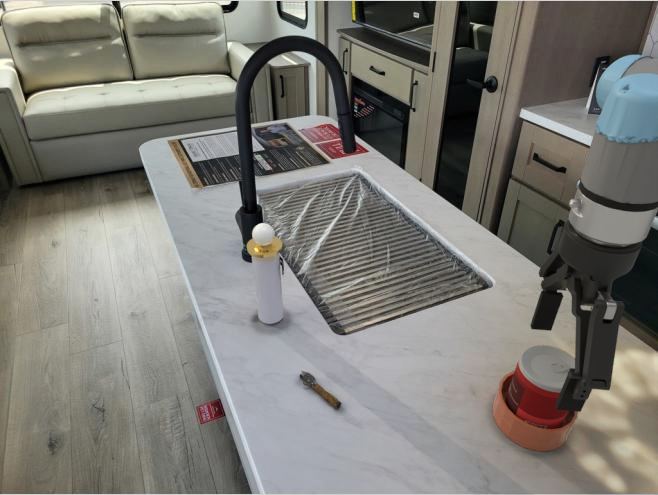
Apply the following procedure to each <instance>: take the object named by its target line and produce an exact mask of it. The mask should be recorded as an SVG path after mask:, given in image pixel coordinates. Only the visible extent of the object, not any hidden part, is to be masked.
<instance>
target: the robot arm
mask: <svg viewBox="0 0 658 495" xmlns="http://www.w3.org/2000/svg"><path fill="white" fill-rule="evenodd" d="M595 88H596V89H595V100H596V103H597V105H598V107H599V108H600V110H601V111H600V114H599V116H598V118H597V120H596V121H595V129H594V131H593V136H592V139H591V142H590V146H589V149H588V153H587V155H586V159H585V163H584V166H583V169H582V172H581V176H580V179H579V183H578V185H577V189H576V192H575V195H574V198H570V200H569V201H568V207H569V208H570V210H569V214H568V220H567V221H566V222H565V225H564V227H563V231H562V233H561V235H560V237H559V240H558V242H557V245H556V246H555V248H554V249H553V251H552V252H551V253H550V254H549V256H548V258H547V259H546V260H545V261H544V263H543V264H542V266H541V267H540V268H539V271H538V276H539V278H543V279H542V280H541V282H540V288H541V291H540V294H539V296H538V299H537V304H536V306H535V309H534V313H533V316H532V319H531V321H530V330H536V331H548V332H549V331H550V332H551V331H552V329H553V327H554V325H555V321H556V318H557V315H558V312H559V310H560V307H561V304H562V301H563V298H564V294H563V292H561V291H568V293H570V295H571V314H572V316H574V317H575V339H574V340H575V344H574V345H575V346H574V348H575V349H574V358H575V369H574V368H570V370H569V372H568V375H567V378H566V380H565V382H564V385H563V387H562V390H561V392H560V394H559V397H558V399H557V402H556V404H555V405H556V408H557V410H567V411H578V413H580V412H582V410H583V408H584V405H585V404H586V401H588V399H589V398H590V395H591V393H592V391H593V390H600V391H610V389H611V386H612V381H613V380H612V379H613V373H614V372H613V371H614V364H615V356H616V350H617V343H618V336H619V328H620V324H621V320H622V318H623V315H624V312H625V308H626V306H625V303H624V301H622V300H614V299H613V297H612V296H611V294H612V288H613V281H615V280H617V279H618V278H620V277H622V276H624V275H626V274H629V272H631V270H632V269H633V267H634V265H635V264H636V261H637V258H638V256H639V254H640V252H641V250H642V247H643V244H644V242H643V241H645V239H646V238H647V237H648V236H649V233H650V231H651V228H652V226H653V223H654V221H655V218H656V216H657V214H658V57H656V58H654V57H653V56H651V55H647V54H644V55H641V54H628V55H624V56H622V57H620V58H618V59H616V60H615V61H614V62H611V64H610V65H609V66H608V67H607V68H606V69H605V70H604V72H602V74H601V76H600V77H599V79H598V82H597V84H596V87H595ZM582 306H583V307H589V308H590V309H589V310H588V309H582Z"/></svg>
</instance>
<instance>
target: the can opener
mask: <svg viewBox="0 0 658 495" xmlns="http://www.w3.org/2000/svg"><path fill="white" fill-rule="evenodd" d="M299 379H300V380H302V385H303V386H305V387H311V388H312V389H313V390H314V391H315V392H316V393H317V394H319V395H320V396H321V397H323V399H324V400H325V401H326V402H328V403H329V404H330V405H331V406H333V407H335V408H336V409H339V408H340V407H341V406H342V402H341V400H339V399H338V398H337V397H335V396H334V395H333V394H332V393H330V392H329V391H327V390H326V389H325V388H324V387H322V386H321V385H320V384H318V383H317V382H316V377H315V376H314V375H313V374H311V373H310V372H308V371H304V370H301V373H300V374H299ZM304 381H305V382H306V383H305V382H304Z"/></svg>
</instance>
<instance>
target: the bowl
mask: <svg viewBox="0 0 658 495" xmlns="http://www.w3.org/2000/svg"><path fill="white" fill-rule="evenodd" d="M514 372H515V370H512V371H510V372H509V373H507V374H505V375H504V376H503V378H502V379H501V380H500V381H499V384H498V388H497V390H496V394H495V397H494V399H493V400H494V401H493V405H492V414H493V420H494V422H495V424H496V425H497V427H498V428H499V430H500V431H501V433H503V435H505V437H507V438H508V439H509V440H511V441H512V442H513V443H515V444H517V445H519V446H520V447H523V448H525V449H528V450H532V451H537V452H548V451H553V450H556V449H558V448H560V447H561V446H563V444H565V442H566V441H567V438H568V437H569V435H570V433H571V431H572V429H573V427H574V425H575V423H576V422H577V419H578V416H579V414H578V413H579V412H578V411H568V413H567V415H566V418H565V420H564V422H563V424H562V426H561V428H557V429H544V428H538V427H536V426H533V425H530V424H527V423H526V422H524V421H523V420H521V419H519V418H518V417H517V416H515V415H514V414H513V413H512V412H511V411H510V410H509V409H508V407H507V405H506V404H505V399H506V396H507V393H508V390H509V387H510V384H511V381H512V378H513V375H514Z"/></svg>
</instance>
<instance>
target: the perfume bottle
mask: <svg viewBox="0 0 658 495" xmlns="http://www.w3.org/2000/svg"><path fill="white" fill-rule="evenodd" d="M251 235H252V236H251V237H252V238H251V239H249V240H248V241H247V243H246V250H247V253H248V254H249V255H250V256H251V265H252V273H253V281H254V290H255V298H256V308H257V315H258V320H259V321H260V322H262V323H263V324H269V325H272V324H277V323H279V322H280V321H281V320H282V319H283V318H284V314H285V313H284V301H283V286H282V276H284V275H285V265H284V264H285V263H284V258H283V257H282V256H281V255H280V253H281V252H282V251H283V241H282V239H280V238H279V237H277V236H276V232H275V228H273V226H272V225H271V224H269V223H266V222H261V223H258V224H257V225H255V226H254V227H253V229H252V231H251Z"/></svg>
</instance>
